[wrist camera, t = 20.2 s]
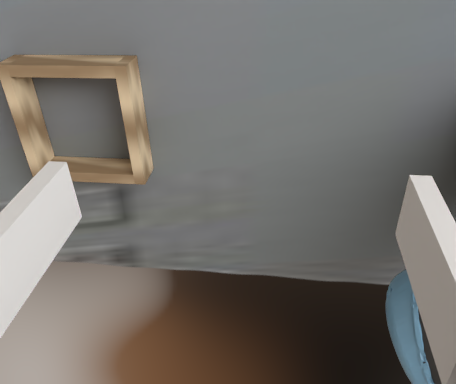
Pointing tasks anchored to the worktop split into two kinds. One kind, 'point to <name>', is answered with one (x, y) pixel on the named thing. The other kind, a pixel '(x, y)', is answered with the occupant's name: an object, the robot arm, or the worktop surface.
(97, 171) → the holder
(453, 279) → the robot arm
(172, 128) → the worktop surface
